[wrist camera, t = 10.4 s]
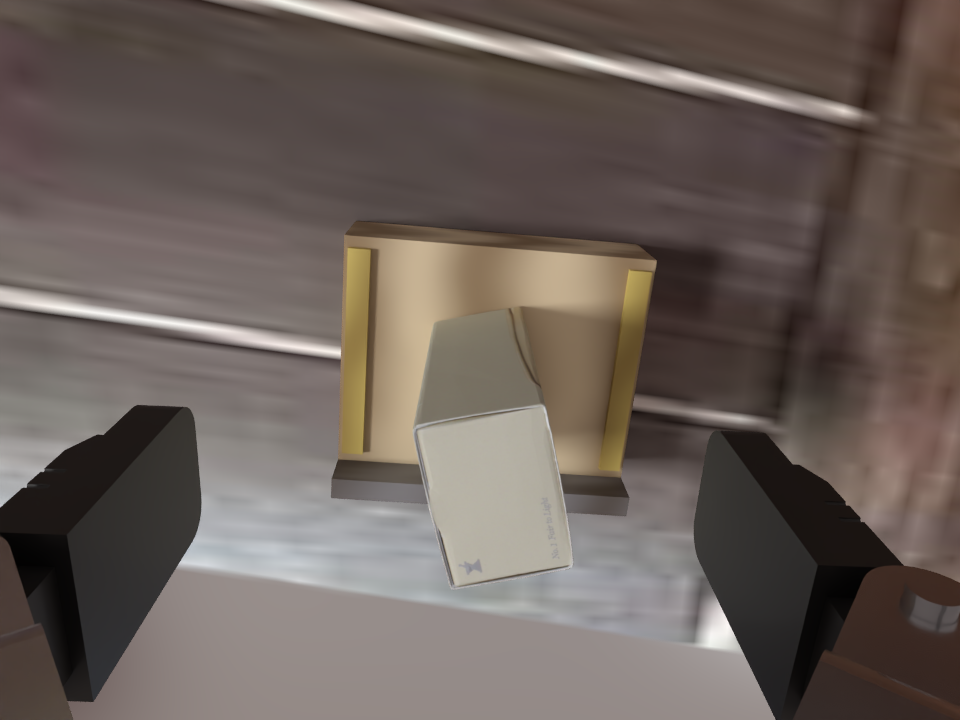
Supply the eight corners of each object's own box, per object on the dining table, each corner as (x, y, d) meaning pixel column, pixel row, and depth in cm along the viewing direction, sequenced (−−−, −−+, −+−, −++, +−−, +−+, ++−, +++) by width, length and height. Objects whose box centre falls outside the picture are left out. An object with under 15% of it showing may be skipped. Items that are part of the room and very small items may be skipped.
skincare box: (542, 423, 36) (581, 574, 25) (452, 440, 36) (449, 597, 25) (520, 299, 34) (552, 402, 23) (425, 317, 34) (409, 428, 23)
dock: (636, 244, 37) (668, 270, 32) (603, 459, 41) (626, 516, 36) (356, 221, 37) (337, 243, 31) (348, 442, 41) (331, 497, 35)
